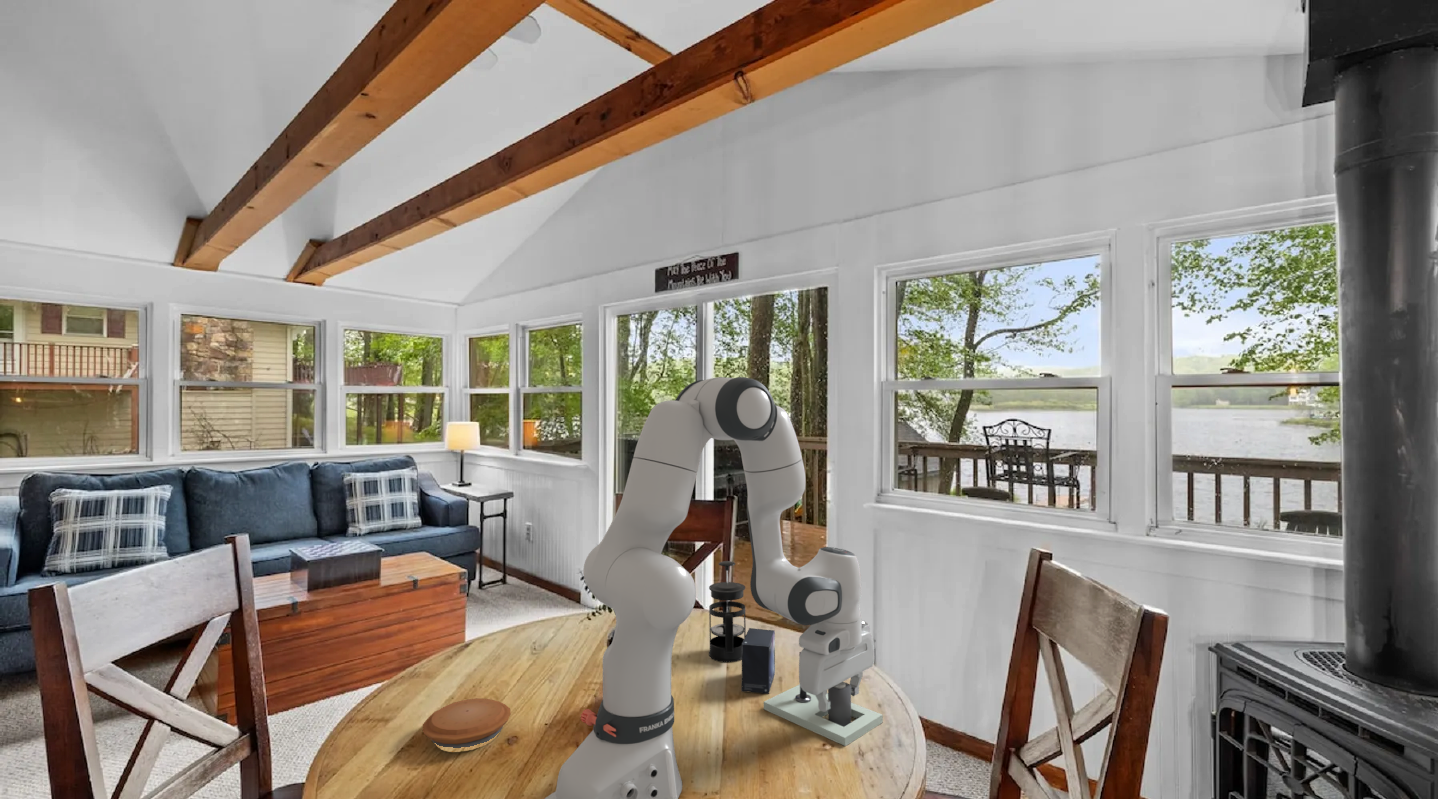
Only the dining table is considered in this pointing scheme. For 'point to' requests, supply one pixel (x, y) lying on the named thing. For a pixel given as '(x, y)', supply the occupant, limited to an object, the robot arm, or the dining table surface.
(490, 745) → the dining table surface
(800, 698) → the grey angled rod part
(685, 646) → the dining table surface
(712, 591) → the french press
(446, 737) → the pie
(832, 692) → the grey cylinder with ball
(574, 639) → the dining table surface
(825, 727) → the pale green board
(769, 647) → the small box
